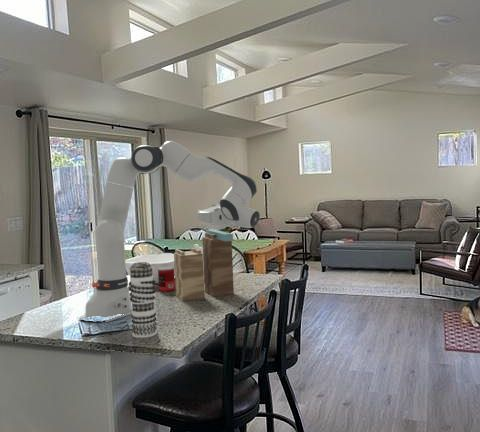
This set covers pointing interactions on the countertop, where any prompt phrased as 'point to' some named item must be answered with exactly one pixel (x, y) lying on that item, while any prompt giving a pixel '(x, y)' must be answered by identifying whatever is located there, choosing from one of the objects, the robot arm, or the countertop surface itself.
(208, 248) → the end cap post
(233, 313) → the countertop surface
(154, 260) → the baking dish
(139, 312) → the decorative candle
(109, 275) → the robot arm
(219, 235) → the teal block
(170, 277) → the canned food
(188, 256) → the tan wooden tall block
